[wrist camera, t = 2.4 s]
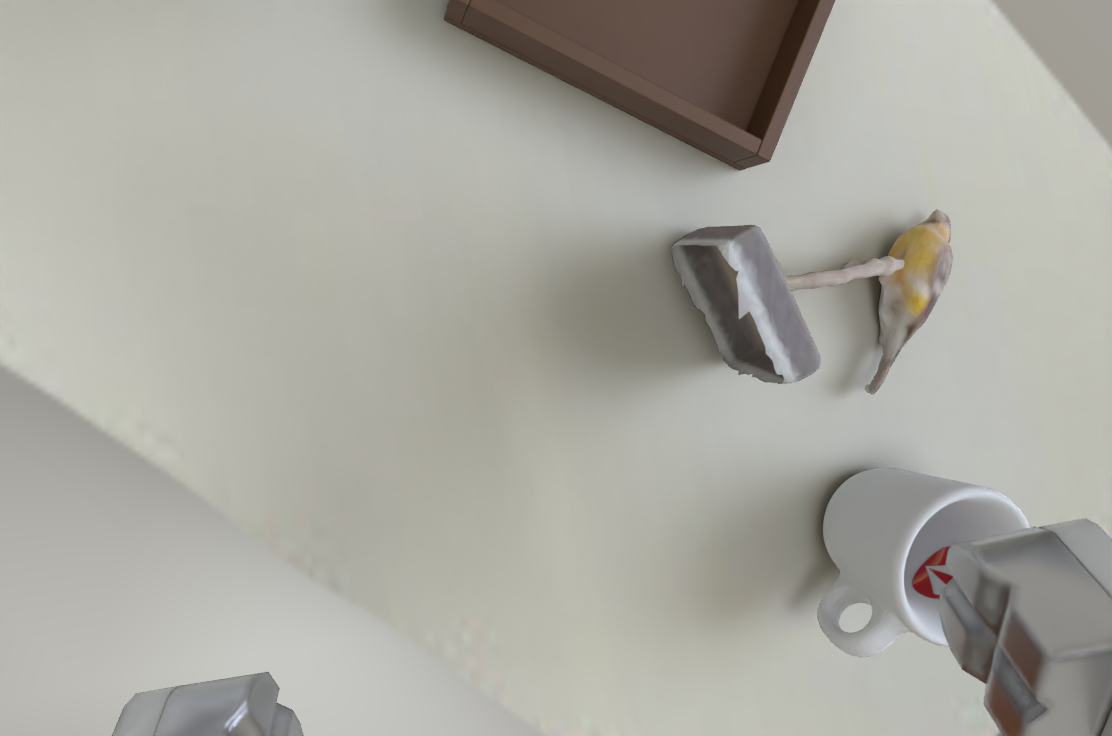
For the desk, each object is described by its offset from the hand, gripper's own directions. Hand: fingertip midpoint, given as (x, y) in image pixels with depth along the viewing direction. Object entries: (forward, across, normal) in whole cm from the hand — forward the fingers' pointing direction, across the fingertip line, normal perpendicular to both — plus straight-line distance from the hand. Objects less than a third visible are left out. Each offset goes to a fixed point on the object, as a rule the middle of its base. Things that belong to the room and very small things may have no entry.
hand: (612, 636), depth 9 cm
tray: (+36, -8, -2) cm, 37 cm away
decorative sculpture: (+30, -14, +15) cm, 36 cm away
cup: (+24, -14, +28) cm, 40 cm away
